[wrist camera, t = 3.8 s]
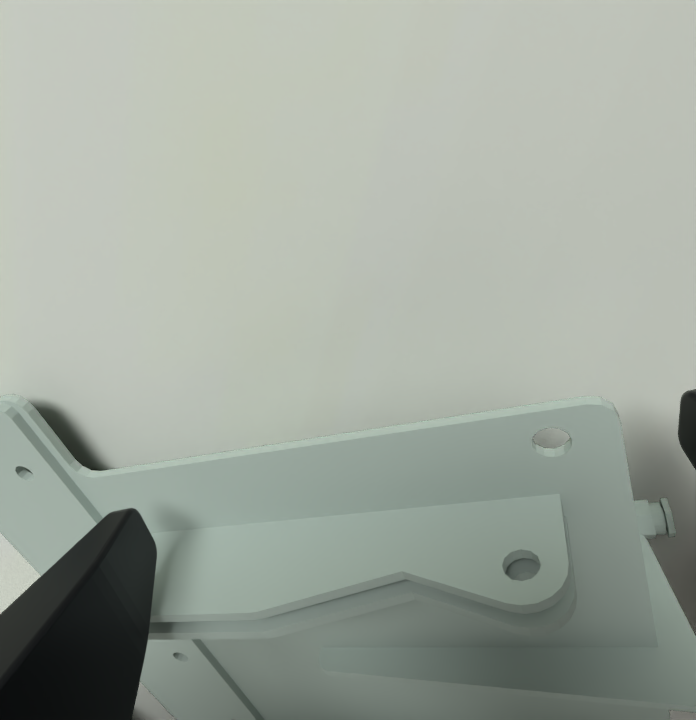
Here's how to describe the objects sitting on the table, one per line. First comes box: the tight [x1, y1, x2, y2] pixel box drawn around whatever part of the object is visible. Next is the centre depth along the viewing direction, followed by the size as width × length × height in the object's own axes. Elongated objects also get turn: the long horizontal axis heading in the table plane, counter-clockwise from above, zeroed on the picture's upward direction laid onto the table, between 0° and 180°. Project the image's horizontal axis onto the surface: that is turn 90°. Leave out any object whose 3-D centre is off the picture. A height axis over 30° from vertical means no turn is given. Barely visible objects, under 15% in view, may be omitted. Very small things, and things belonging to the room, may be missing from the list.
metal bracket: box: [0, 395, 696, 720], centre depth 13 cm, size 14×6×15 cm
